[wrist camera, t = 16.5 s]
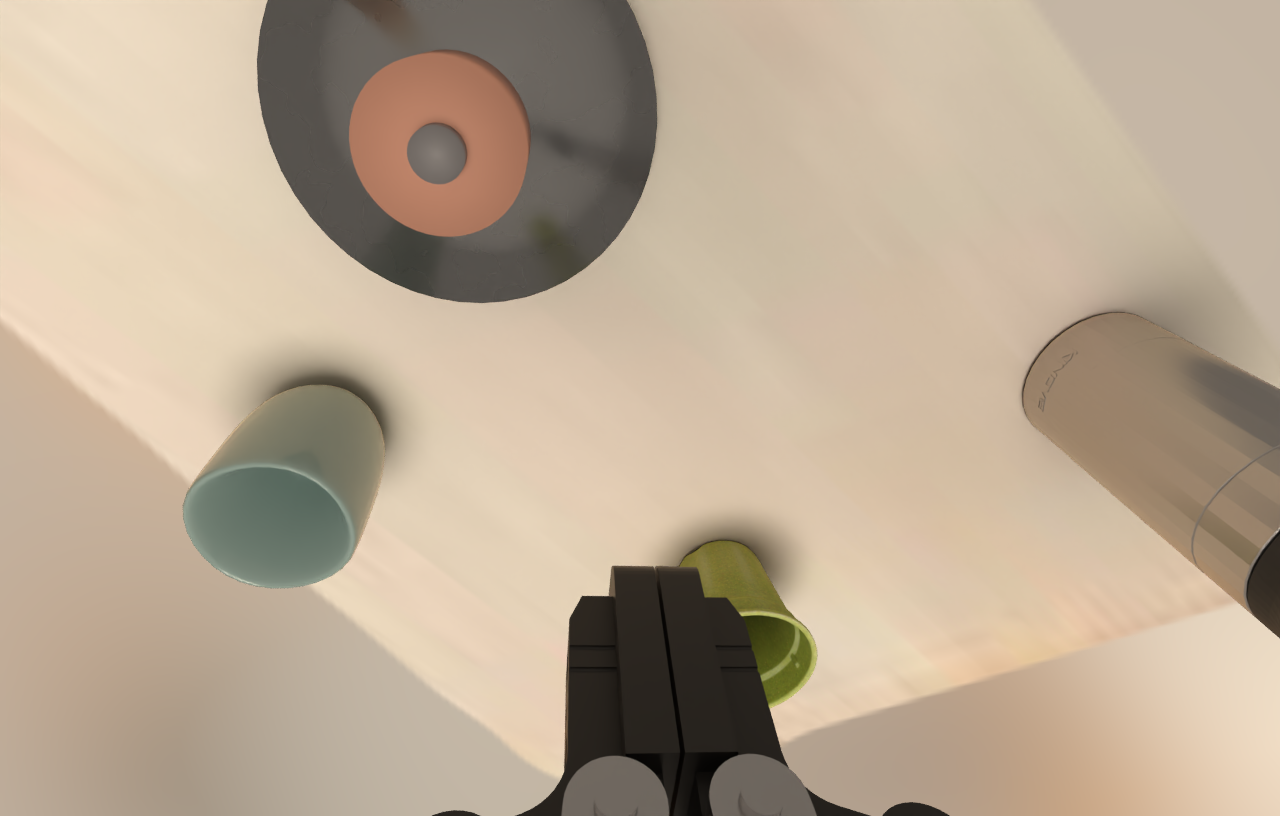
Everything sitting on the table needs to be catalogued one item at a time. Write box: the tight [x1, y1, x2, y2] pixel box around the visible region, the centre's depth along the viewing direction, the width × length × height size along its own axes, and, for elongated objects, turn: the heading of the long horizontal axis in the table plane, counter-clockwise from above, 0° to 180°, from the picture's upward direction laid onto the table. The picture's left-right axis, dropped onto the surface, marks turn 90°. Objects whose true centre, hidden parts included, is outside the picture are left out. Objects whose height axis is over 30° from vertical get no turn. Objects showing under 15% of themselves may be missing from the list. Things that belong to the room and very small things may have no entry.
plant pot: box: [679, 541, 817, 709], centre depth 47 cm, size 9×9×9 cm
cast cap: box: [349, 49, 531, 237], centre depth 30 cm, size 7×7×6 cm
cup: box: [183, 384, 385, 588], centre depth 37 cm, size 8×8×10 cm
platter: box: [257, 0, 657, 303], centre depth 30 cm, size 18×25×6 cm
